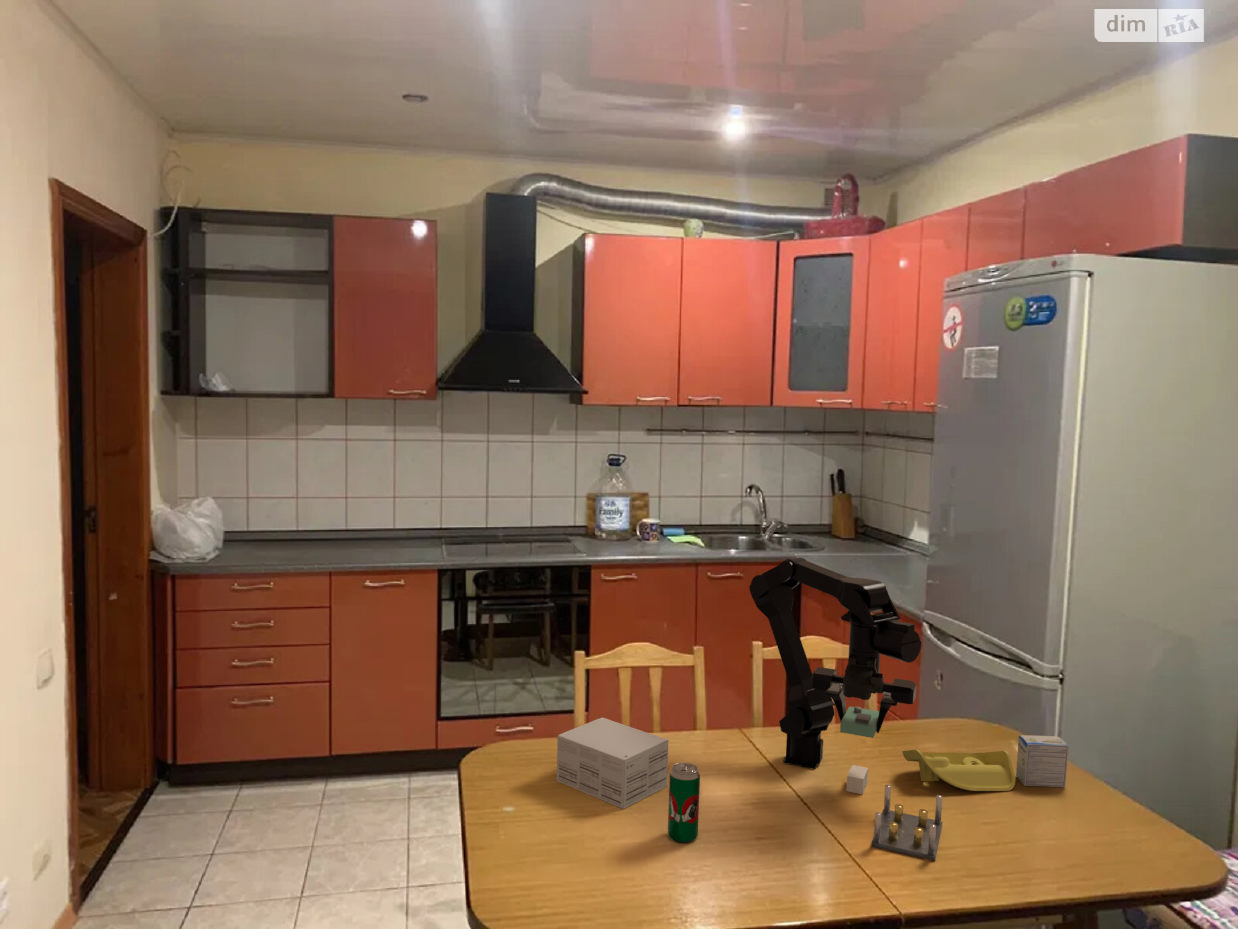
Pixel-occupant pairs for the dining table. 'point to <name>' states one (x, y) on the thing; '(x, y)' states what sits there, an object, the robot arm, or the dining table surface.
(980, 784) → the plastic component
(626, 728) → the supplement box
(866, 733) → the board
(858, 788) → the white rectangular block
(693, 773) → the soda can
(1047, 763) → the medicine box
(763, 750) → the dining table surface
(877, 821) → the chassis
